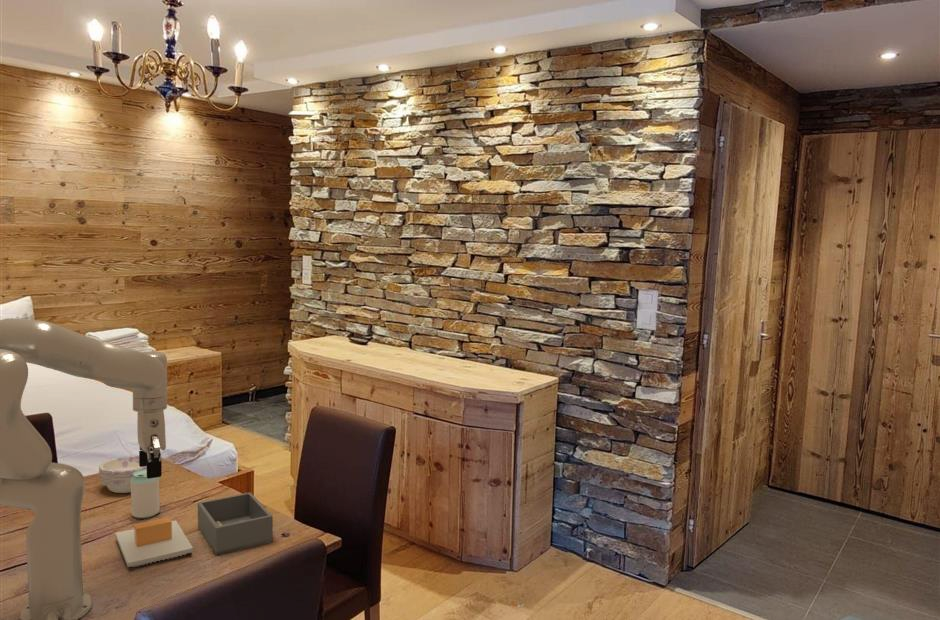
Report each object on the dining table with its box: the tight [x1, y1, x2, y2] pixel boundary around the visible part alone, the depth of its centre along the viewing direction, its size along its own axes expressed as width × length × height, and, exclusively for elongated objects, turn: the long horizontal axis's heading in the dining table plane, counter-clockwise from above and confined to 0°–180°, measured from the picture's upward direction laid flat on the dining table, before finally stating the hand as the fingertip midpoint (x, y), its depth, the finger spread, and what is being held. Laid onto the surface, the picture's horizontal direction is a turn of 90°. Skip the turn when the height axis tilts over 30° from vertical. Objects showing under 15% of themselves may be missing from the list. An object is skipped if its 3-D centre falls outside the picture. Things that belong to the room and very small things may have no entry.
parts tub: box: [197, 492, 274, 556], centre depth 177 cm, size 18×14×7 cm
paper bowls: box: [98, 455, 147, 494], centre depth 205 cm, size 15×15×8 cm
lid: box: [114, 517, 194, 568], centre depth 168 cm, size 18×14×6 cm
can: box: [130, 469, 161, 520], centre depth 187 cm, size 7×7×12 cm
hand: (150, 471), depth 166 cm, fingers open, 9 cm apart
